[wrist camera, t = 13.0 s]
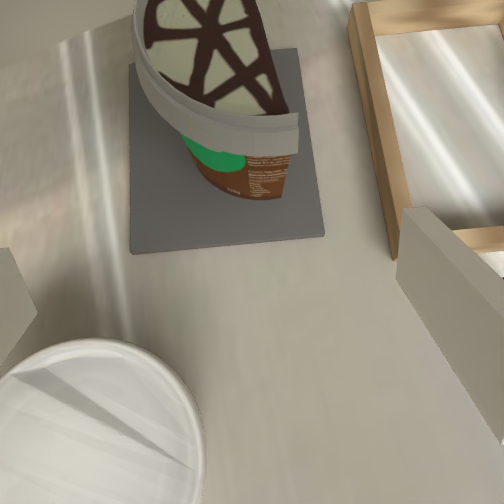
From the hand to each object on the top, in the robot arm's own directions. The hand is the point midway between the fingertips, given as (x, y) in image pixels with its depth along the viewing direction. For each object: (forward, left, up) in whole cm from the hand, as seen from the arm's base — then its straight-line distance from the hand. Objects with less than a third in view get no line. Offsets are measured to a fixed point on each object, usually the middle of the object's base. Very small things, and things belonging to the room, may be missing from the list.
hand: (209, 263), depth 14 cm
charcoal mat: (0, -11, -11) cm, 15 cm away
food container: (0, -11, -10) cm, 15 cm away
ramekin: (+7, +7, -11) cm, 15 cm away
